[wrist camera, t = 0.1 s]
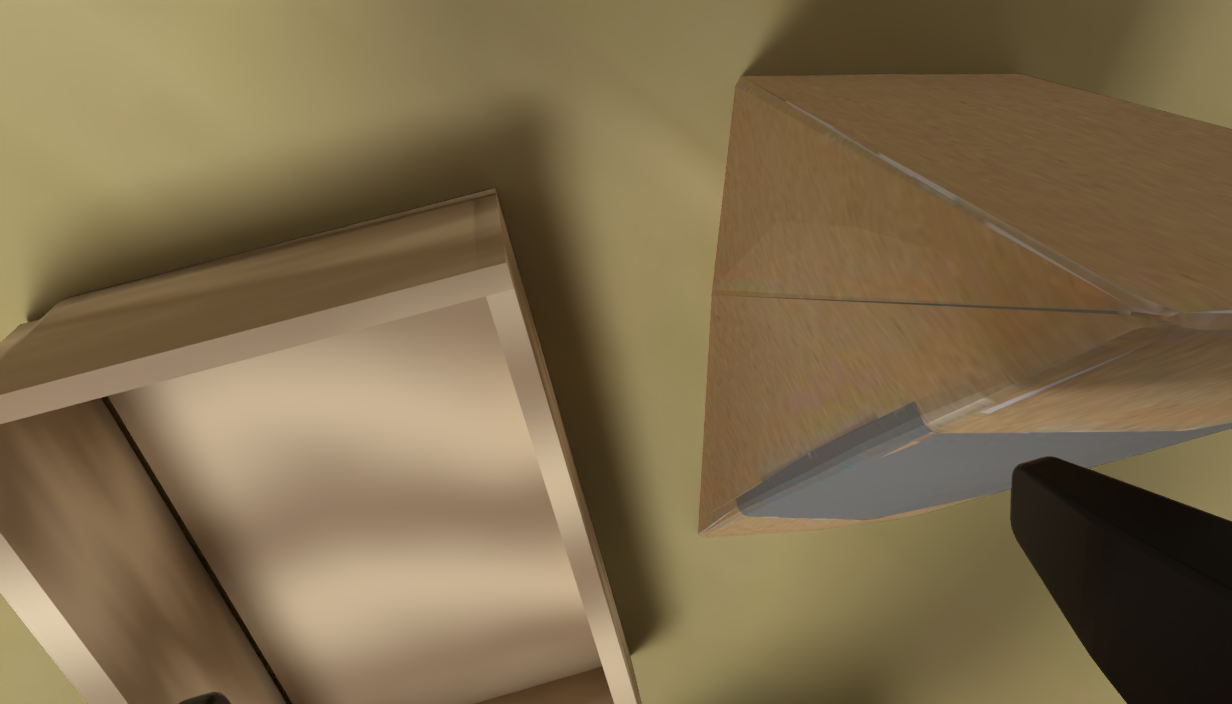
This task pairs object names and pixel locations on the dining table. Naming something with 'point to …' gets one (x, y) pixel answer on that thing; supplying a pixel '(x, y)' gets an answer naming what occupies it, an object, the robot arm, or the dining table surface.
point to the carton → (360, 457)
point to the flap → (111, 568)
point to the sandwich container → (955, 292)
